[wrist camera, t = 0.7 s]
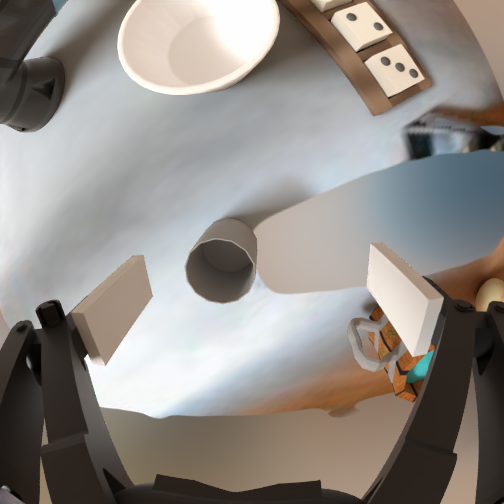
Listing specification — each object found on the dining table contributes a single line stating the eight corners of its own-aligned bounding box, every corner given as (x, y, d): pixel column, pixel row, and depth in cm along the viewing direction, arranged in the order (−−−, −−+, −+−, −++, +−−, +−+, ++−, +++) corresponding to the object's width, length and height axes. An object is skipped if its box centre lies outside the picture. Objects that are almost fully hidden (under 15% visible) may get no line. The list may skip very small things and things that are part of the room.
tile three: (363, 63, 30) (372, 55, 26) (391, 50, 28) (401, 43, 25) (386, 97, 31) (398, 93, 28) (413, 83, 30) (425, 78, 26)
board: (273, -5, 28) (273, -13, 25) (331, -26, 25) (334, -33, 23) (373, 116, 34) (379, 114, 32) (424, 87, 31) (432, 85, 29)
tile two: (329, 22, 28) (335, 11, 24) (359, 11, 26) (366, 1, 23) (355, 52, 29) (363, 44, 26) (383, 40, 28) (393, 32, 24)
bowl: (145, 22, 29) (116, -5, 19) (264, -5, 28) (263, -43, 18) (156, 123, 36) (122, 115, 26) (287, 97, 34) (295, 77, 24)
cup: (248, 212, 40) (243, 230, 30) (264, 263, 42) (263, 294, 33) (194, 227, 41) (174, 250, 32) (212, 276, 43) (199, 309, 34)
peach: (499, 286, 42) (519, 302, 35) (476, 315, 45) (494, 334, 37) (488, 264, 41) (511, 280, 33) (464, 296, 43) (485, 315, 36)
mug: (438, 292, 43) (481, 336, 29) (410, 349, 48) (440, 399, 33) (351, 276, 43) (384, 330, 28) (326, 343, 47) (343, 404, 33)
